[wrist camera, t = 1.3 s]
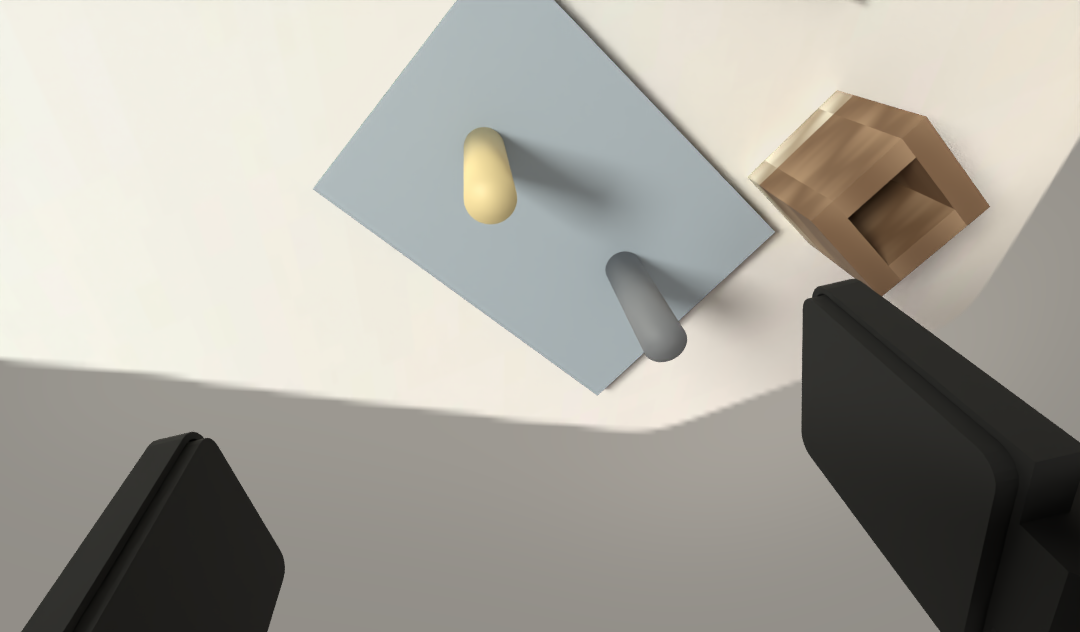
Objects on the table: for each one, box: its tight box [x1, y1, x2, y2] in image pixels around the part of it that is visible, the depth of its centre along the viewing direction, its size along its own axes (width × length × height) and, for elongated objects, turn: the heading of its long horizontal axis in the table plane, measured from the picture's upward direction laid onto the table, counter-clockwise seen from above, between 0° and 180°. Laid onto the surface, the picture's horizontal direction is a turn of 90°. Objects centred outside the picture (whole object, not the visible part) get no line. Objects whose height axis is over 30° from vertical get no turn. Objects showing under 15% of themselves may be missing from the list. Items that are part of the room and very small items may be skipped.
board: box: [313, 0, 775, 396], centre depth 29 cm, size 14×20×9 cm
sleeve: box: [748, 91, 990, 296], centre depth 31 cm, size 6×6×7 cm
